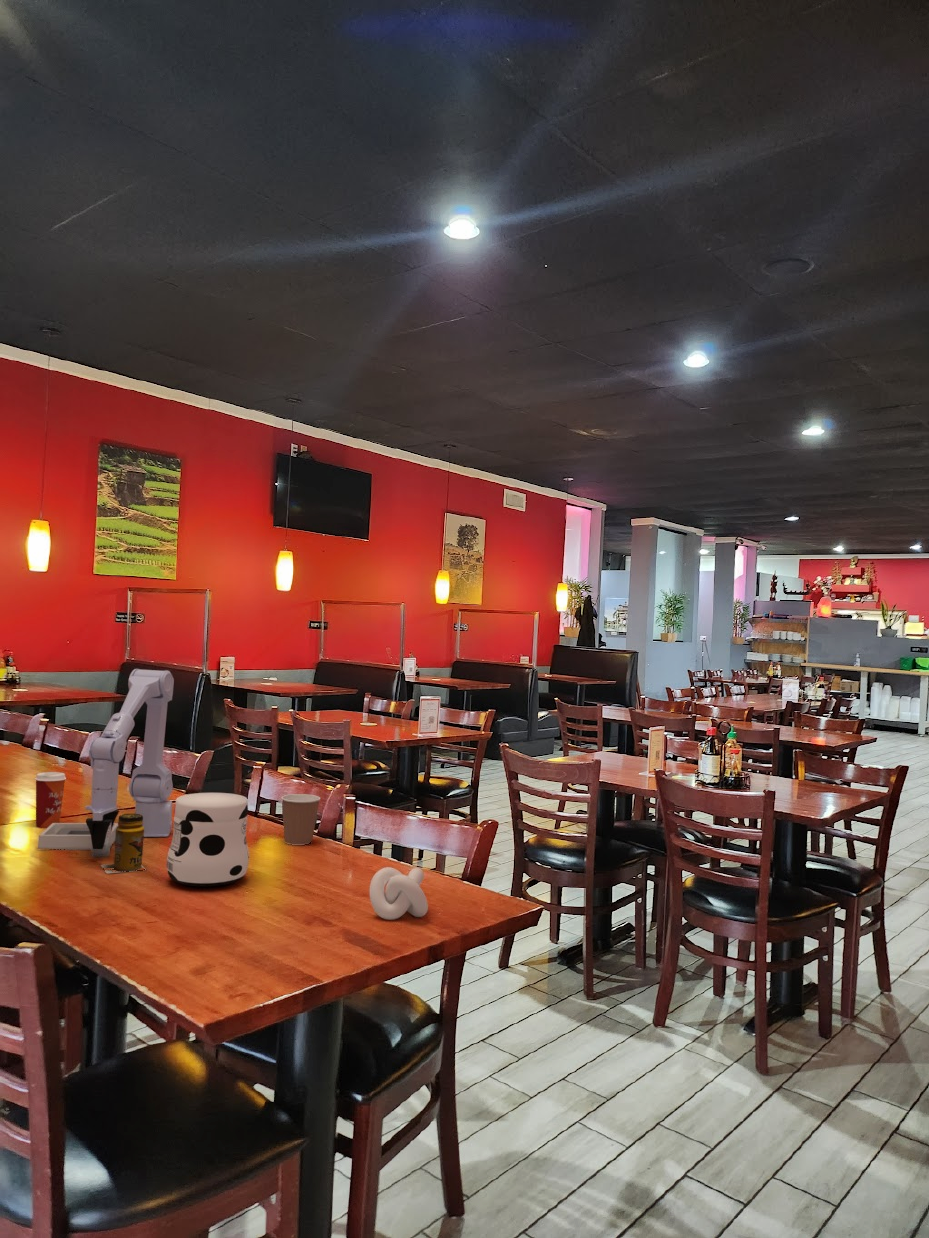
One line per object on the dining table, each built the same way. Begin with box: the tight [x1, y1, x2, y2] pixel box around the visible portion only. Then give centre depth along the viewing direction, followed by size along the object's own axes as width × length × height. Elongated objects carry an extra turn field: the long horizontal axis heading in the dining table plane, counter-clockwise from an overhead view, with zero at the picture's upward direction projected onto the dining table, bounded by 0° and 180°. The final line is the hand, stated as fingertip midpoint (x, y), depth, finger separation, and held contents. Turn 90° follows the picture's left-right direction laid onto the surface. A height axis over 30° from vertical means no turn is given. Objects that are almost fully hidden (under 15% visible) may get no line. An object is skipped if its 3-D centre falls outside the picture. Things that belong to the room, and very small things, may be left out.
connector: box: [90, 822, 112, 858], centre depth 204 cm, size 4×4×8 cm
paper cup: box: [34, 771, 67, 829], centre depth 231 cm, size 8×8×14 cm
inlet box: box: [37, 822, 118, 851], centre depth 214 cm, size 16×14×4 cm
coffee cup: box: [280, 793, 321, 846], centre depth 226 cm, size 10×10×12 cm
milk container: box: [166, 792, 250, 888], centre depth 187 cm, size 17×17×18 cm
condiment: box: [100, 813, 147, 875], centre depth 194 cm, size 7×8×12 cm
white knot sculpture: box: [369, 866, 429, 921], centre depth 170 cm, size 11×12×9 cm
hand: (101, 844), depth 204 cm, fingers open, 7 cm apart
